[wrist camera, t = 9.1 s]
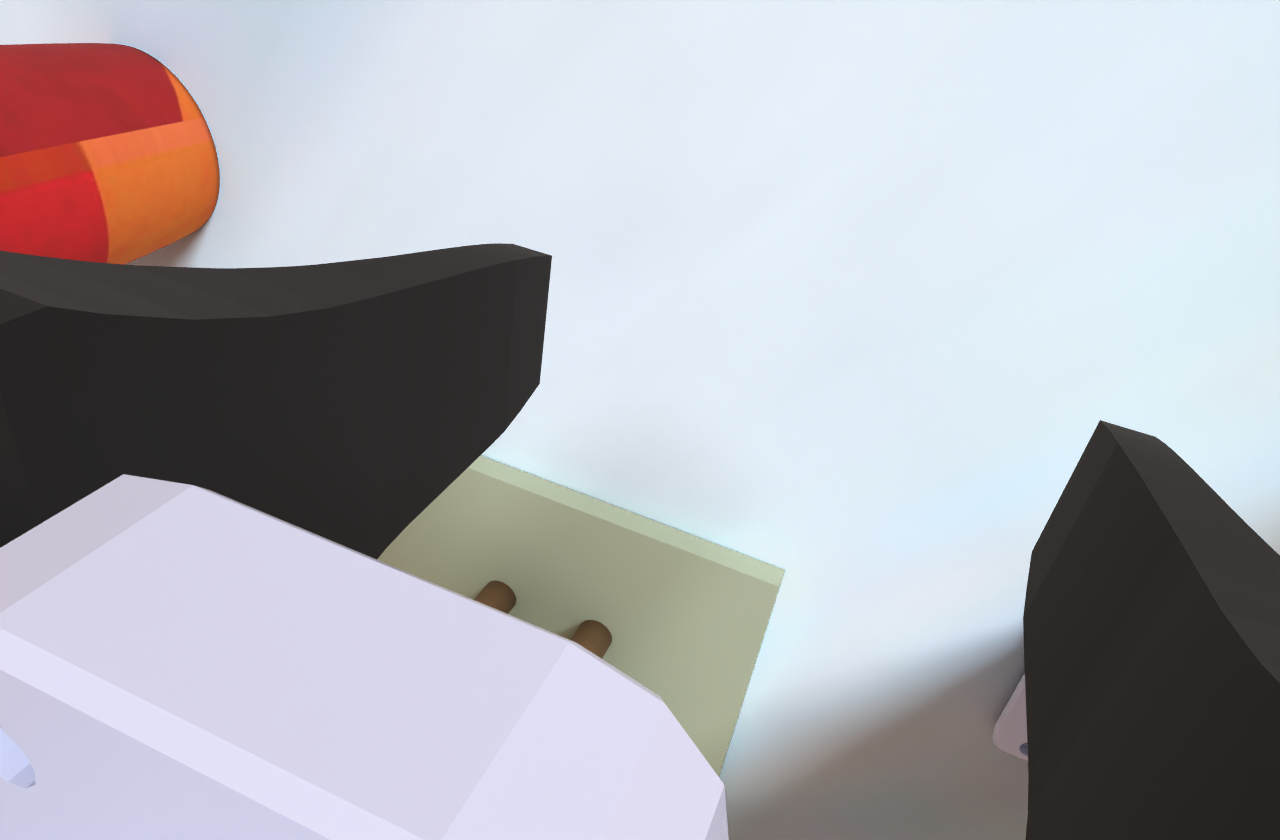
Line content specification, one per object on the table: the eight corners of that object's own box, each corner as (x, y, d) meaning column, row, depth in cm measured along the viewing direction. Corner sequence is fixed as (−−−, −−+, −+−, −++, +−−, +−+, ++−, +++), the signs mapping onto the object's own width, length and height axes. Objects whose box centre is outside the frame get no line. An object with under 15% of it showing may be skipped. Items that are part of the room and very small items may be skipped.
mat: (785, 570, 26) (778, 586, 25) (688, 871, 34) (682, 889, 33) (386, 420, 29) (371, 430, 28) (389, 727, 37) (377, 741, 37)
